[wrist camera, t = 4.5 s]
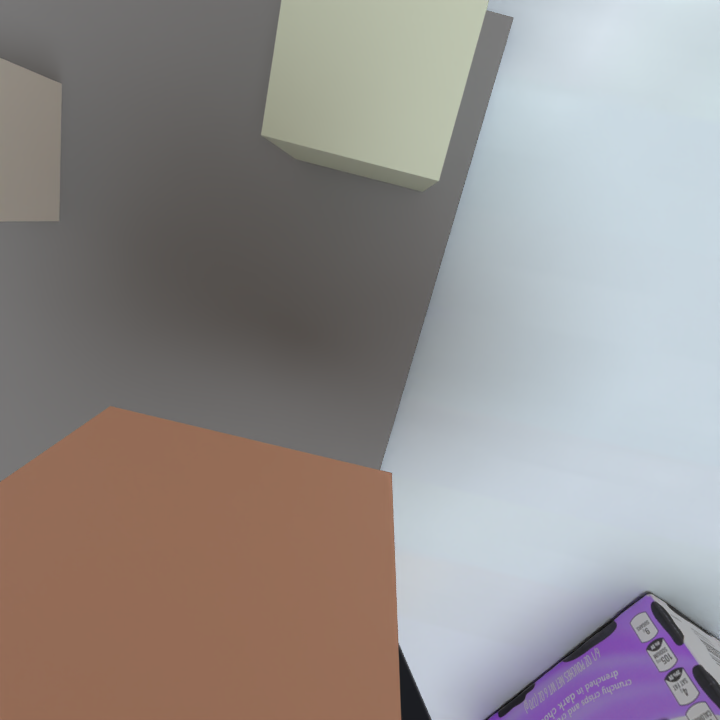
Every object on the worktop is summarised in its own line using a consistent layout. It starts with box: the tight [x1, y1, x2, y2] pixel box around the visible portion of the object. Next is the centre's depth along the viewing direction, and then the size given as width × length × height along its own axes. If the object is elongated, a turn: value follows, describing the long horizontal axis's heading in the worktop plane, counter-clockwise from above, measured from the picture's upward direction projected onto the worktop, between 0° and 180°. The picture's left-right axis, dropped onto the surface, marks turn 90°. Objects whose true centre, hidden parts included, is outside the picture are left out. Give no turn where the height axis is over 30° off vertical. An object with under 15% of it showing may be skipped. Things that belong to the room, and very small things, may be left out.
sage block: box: [261, 0, 489, 192], centre depth 13 cm, size 5×5×5 cm
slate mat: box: [0, 0, 513, 482], centre depth 19 cm, size 27×21×1 cm
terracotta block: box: [0, 406, 401, 720], centre depth 6 cm, size 5×5×5 cm
